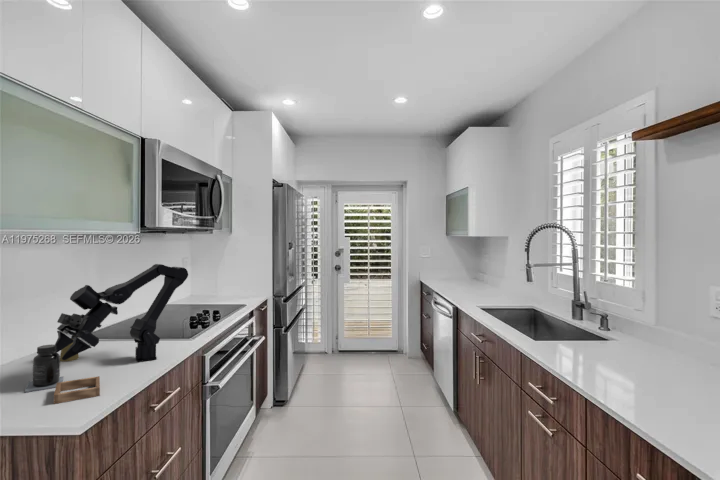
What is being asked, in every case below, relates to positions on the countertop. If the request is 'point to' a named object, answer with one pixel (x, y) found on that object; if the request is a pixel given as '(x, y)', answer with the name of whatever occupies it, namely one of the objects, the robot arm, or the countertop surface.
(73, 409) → the countertop surface
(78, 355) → the cork
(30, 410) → the countertop surface
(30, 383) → the slate mat
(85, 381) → the walnut holder
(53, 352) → the supplement bottle
